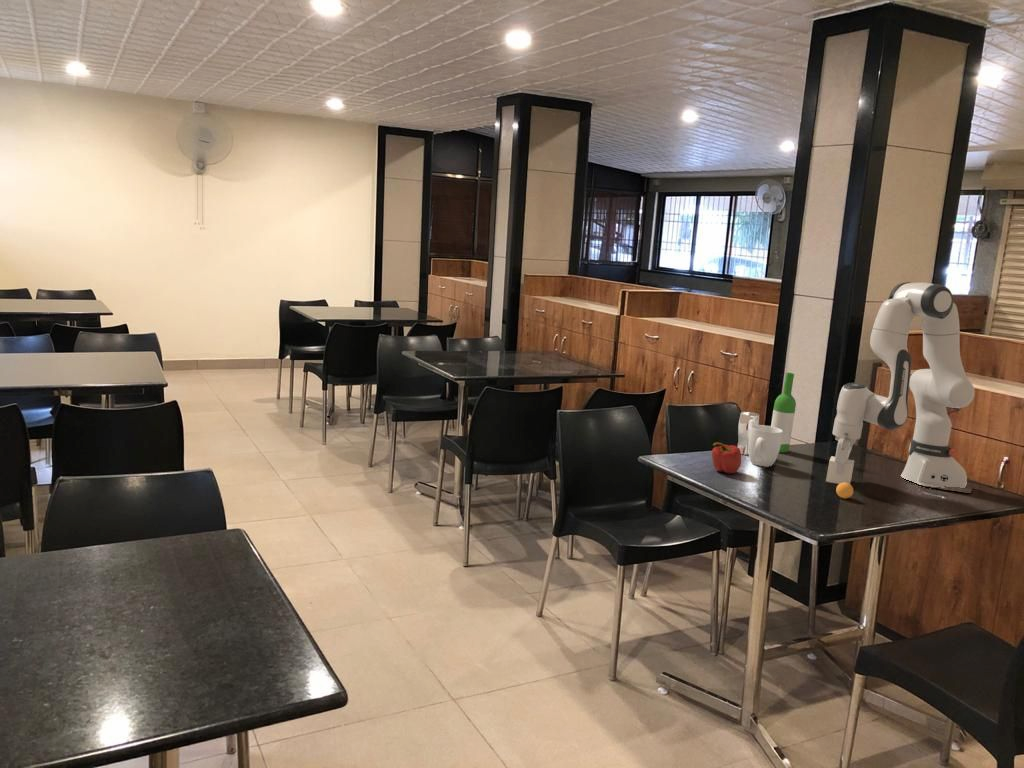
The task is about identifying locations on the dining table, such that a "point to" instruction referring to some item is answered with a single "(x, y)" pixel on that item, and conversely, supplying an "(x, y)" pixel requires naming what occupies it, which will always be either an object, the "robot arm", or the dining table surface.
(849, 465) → the white cube
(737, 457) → the vegetable
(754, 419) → the beer glass
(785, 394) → the wine bottle
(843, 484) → the ball
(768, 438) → the mug
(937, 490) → the dining table surface
